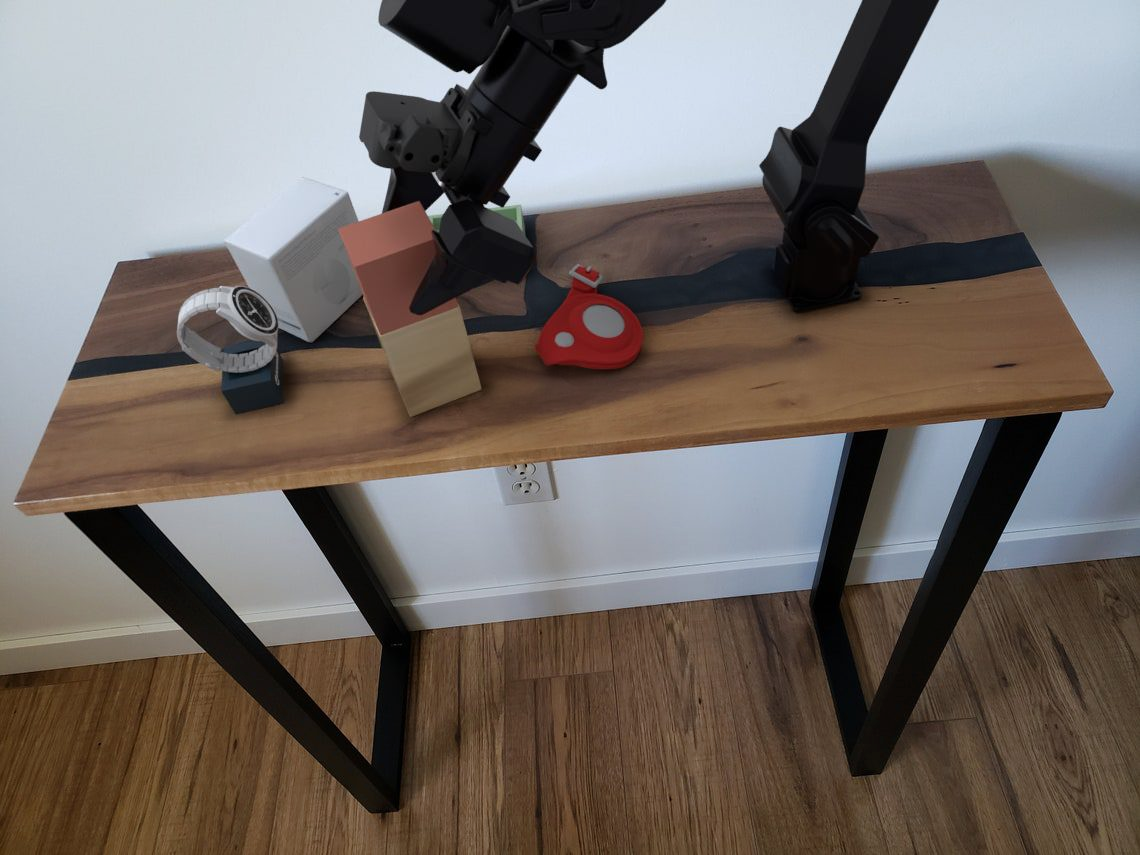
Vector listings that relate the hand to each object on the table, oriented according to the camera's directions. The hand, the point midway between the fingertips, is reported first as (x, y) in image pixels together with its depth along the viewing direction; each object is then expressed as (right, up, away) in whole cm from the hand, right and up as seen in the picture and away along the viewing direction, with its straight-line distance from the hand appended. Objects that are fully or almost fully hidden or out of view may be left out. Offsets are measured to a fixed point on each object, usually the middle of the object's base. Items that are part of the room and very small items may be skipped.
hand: (397, 276), depth 67 cm
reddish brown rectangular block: (+1, -2, +2) cm, 3 cm away
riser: (+2, -8, +10) cm, 13 cm away
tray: (+4, +6, +20) cm, 22 cm away
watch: (-15, -8, +12) cm, 21 cm away
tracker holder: (+16, -3, +12) cm, 20 cm away
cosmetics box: (-11, +1, +19) cm, 22 cm away
